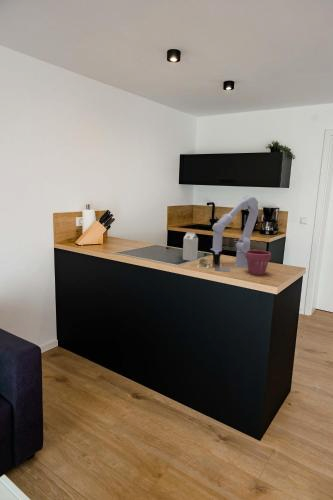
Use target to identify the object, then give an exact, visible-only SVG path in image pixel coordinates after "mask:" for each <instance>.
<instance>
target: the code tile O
mask: <svg viewBox="0 0 333 500" xmlns="http://www.w3.org/2000/svg"><path fill="white" fill-rule="evenodd" d="M209 265H210V264H209ZM209 265H208V264H207V267H199V264H197V266H196V268H202V269H203V268H204V269H209V267H210V266H209Z"/></svg>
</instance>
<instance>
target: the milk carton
mask: <svg viewBox="0 0 333 500" xmlns="http://www.w3.org/2000/svg"><path fill="white" fill-rule="evenodd" d="M182 243H183V244H182V260H185V261H189V262H192V261H193V262H194V261H196V260H198V248H199V247H198V246H199V237H198V236H197V234H196V232H192V231H186V233H185V235H184V236H183V242H182Z"/></svg>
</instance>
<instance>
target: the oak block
mask: <svg viewBox="0 0 333 500" xmlns="http://www.w3.org/2000/svg"><path fill="white" fill-rule="evenodd" d="M198 260H199V263H198V265H199V267H198V268H200V267H207V265H208V257H199V259H198Z"/></svg>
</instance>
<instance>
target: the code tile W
mask: <svg viewBox="0 0 333 500" xmlns="http://www.w3.org/2000/svg"><path fill="white" fill-rule="evenodd" d="M222 265H223V263H220V266H213V263H210V267H214V268H215V267H221V268H223V266H222Z"/></svg>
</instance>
